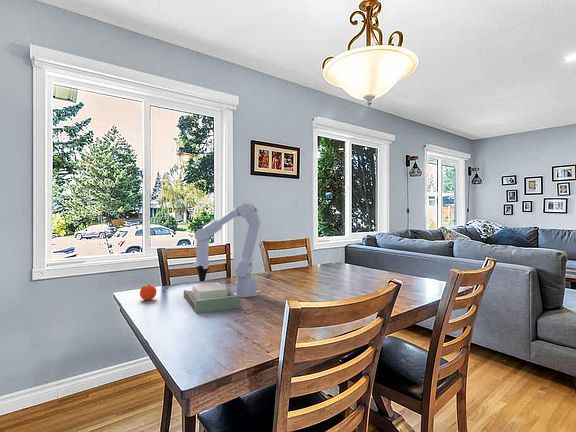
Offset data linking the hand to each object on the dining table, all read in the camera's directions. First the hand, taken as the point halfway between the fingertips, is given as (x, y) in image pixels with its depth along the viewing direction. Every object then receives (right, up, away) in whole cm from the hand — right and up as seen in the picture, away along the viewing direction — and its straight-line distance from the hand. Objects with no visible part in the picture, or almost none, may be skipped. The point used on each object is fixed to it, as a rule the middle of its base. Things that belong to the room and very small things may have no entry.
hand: (202, 281), depth 160 cm
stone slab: (+6, -3, -12) cm, 14 cm away
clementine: (-21, -6, -13) cm, 26 cm away
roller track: (+7, -6, -13) cm, 16 cm away
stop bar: (+13, -7, -25) cm, 29 cm away
